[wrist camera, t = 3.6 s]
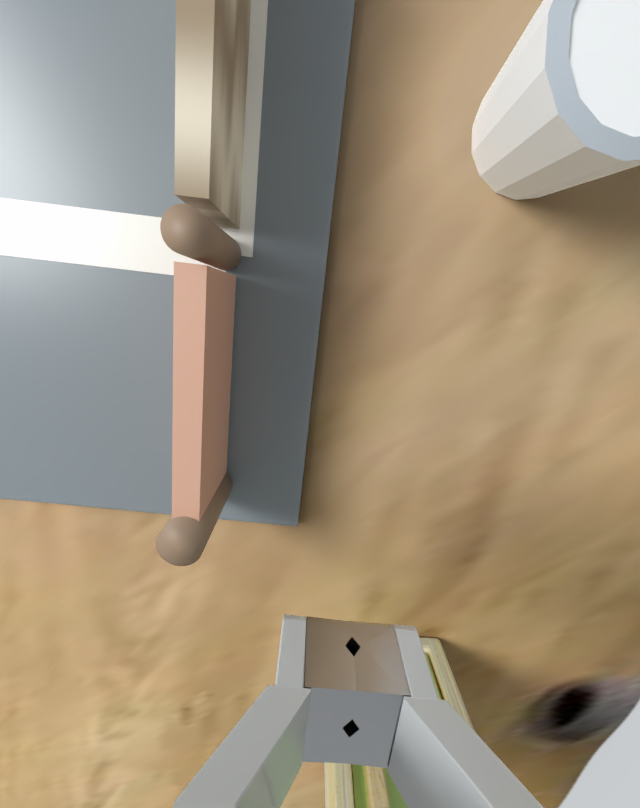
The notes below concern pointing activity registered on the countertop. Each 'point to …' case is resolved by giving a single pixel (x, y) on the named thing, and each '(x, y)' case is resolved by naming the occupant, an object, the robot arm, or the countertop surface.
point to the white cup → (563, 101)
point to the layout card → (155, 250)
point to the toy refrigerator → (373, 786)
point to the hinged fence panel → (199, 380)
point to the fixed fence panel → (211, 105)
